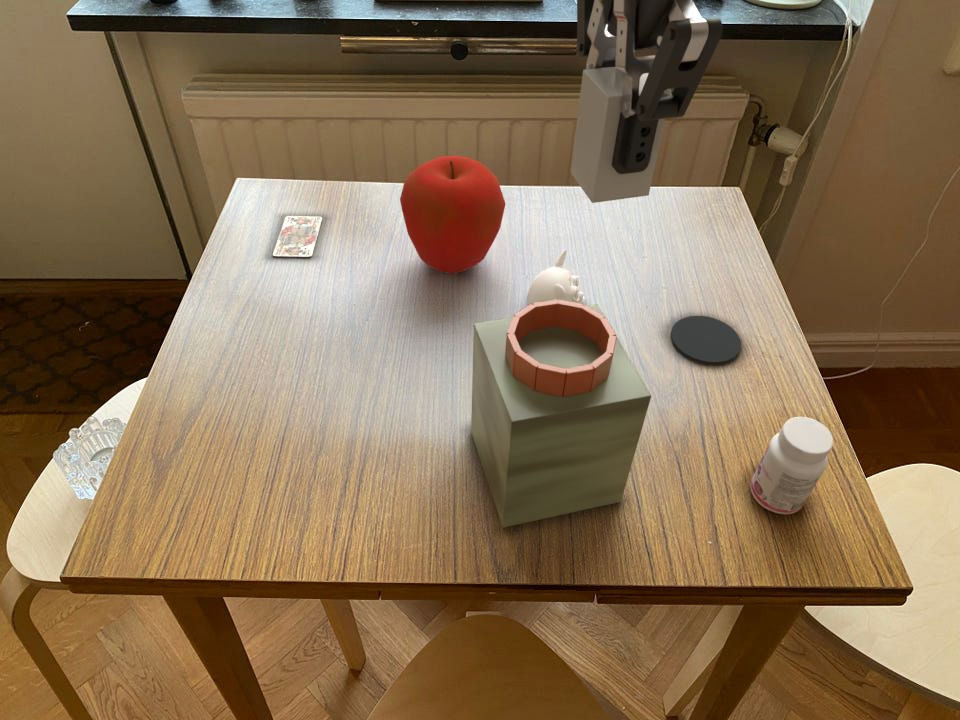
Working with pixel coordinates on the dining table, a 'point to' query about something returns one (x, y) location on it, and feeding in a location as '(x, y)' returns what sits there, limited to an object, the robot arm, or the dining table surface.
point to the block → (606, 139)
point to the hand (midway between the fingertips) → (614, 150)
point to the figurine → (555, 285)
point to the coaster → (705, 340)
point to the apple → (452, 212)
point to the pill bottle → (792, 465)
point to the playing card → (298, 236)
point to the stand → (553, 426)
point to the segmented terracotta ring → (552, 376)
